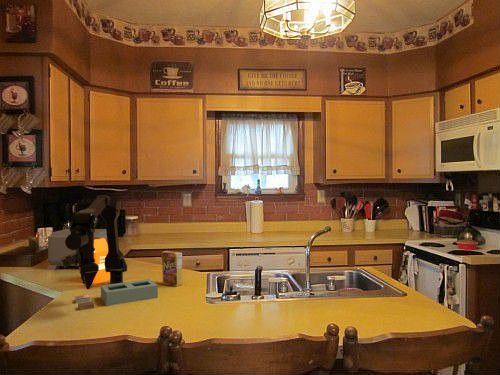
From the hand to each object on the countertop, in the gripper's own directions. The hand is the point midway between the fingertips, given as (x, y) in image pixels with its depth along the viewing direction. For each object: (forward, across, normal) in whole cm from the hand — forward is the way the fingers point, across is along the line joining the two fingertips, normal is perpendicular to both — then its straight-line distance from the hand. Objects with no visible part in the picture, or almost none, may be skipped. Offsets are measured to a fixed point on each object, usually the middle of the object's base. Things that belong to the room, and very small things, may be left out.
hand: (86, 286), depth 142 cm
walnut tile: (+8, 0, 0) cm, 8 cm away
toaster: (+9, -78, +11) cm, 80 cm away
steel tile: (+8, -10, 0) cm, 13 cm away
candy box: (+8, -14, +39) cm, 42 cm away
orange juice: (+8, -41, +11) cm, 43 cm away
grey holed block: (+8, -4, +17) cm, 19 cm away
